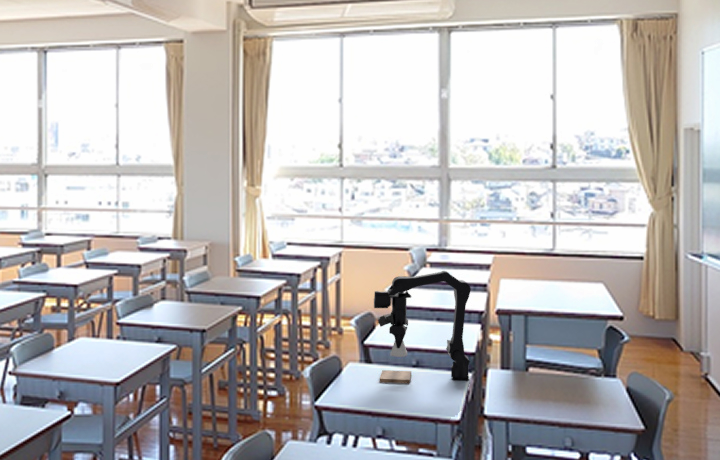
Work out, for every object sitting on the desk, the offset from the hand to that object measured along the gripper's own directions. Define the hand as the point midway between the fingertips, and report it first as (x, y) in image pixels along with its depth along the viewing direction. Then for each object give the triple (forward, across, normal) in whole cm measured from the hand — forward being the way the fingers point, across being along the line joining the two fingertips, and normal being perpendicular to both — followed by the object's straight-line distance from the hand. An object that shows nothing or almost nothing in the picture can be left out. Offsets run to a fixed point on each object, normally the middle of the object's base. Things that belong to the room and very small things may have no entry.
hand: (398, 346), depth 262 cm
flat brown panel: (+14, 0, -1) cm, 14 cm away
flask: (+4, 0, 0) cm, 4 cm away
